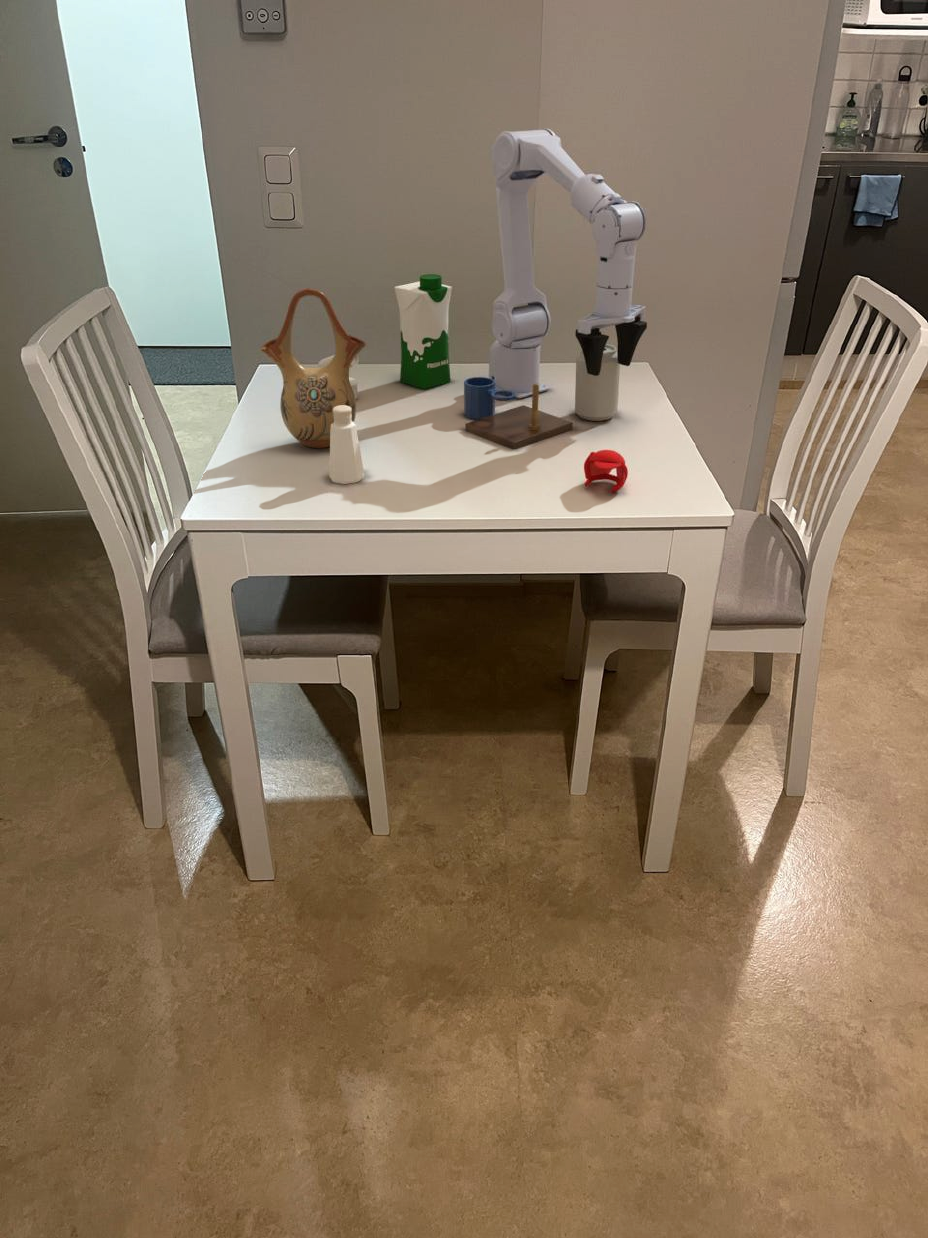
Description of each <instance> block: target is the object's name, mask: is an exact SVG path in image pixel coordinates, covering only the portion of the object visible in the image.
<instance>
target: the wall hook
mask: <svg viewBox="0 0 928 1238" xmlns="http://www.w3.org/2000/svg"><path fill="white" fill-rule="evenodd" d="M334 355H335V354H333V355H331V356H328V357H325V358H323V359H321V360H319V362H318V363H317V365H316V368H319V367H323V366H325V365H327V364H328V363H329V362H330V361H331V360H332V359H333V357H334ZM359 360H360V358H359V353H358V354H357V356H356V357H355V358H354V360H353V361H352V363H351V366H350V368H353V367H355V366H357V365H358V364H359ZM349 382H350V385H351V387H352V390H353V392H354V395H355V400H356V399H357V398H358V396H359V393H358V381H357V380H356V379H355V378H353V377H350V376H349Z"/></svg>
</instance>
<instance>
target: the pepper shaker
mask: <svg viewBox="0 0 928 1238" xmlns="http://www.w3.org/2000/svg"><path fill="white" fill-rule="evenodd" d="M351 411H352V408H351V407H349V406H346V405H339V406H336V407H334V408H333V414H334V415H333V416H334V423H332V424H331V430H330V447H329V466H328V467H329V468H328V469H329V470H328V472H329V473H328V476H329V478H330V480H331V481H332V482H333V483H336V484H342V485H348V484H355V483H359V482H360V481H362V479H364V478H365V476H366V475H365V471H364V464H363V459H362V453H361V447H360V442H359V435H358V430H357V425H356V423H355V421H354V422H353V421H352V419H351V418H352V417H351V416H352V414H351Z"/></svg>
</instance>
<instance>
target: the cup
mask: <svg viewBox="0 0 928 1238" xmlns="http://www.w3.org/2000/svg"><path fill="white" fill-rule="evenodd" d="M507 394H508V396H499V395H507ZM510 395H511V396H510ZM515 399H517V398H516V393H515V392H513V391H510V390H509V391H508V390H496V389H495V381H494V380H493V379H490V378H489V377H484V376H475V377H474V376H473V377H469V378H466V379H465V380H464V381H463V413H464V415H465V417H466V418H467V419H471V420H478V419H481V418H484V417H488V416H491V415H494V414H496V401H497V402H510V401H513V400H515Z"/></svg>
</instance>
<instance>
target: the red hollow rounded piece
mask: <svg viewBox="0 0 928 1238" xmlns="http://www.w3.org/2000/svg"><path fill="white" fill-rule="evenodd" d="M614 469H615V472H616V475H614V474H611V472H612V470H614ZM583 472H584V477H585V479H586V481H585V482H584V484H583V485H584V487H585V488H588V487H589V486H590V484H591V483H593V482H595V481H601V480H602V481H603V480H608V481H612V482H614V483H616V485H614V486H612V488H611V489H610V490H611V492H612V493H616V492H619V491H620V490H621V489H623V487H624V485H625V483H626V482H627V479H628V475H629V469H628V467H627V465H626V460H625V458H624V457H623V456H622V455H621V453H619V452H617V451H616V450H612V449H601V450H597V451H596V452H595V451H591V452H590V453H589V455H588V456H587V458H586V459H585V461H584V464H583Z"/></svg>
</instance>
